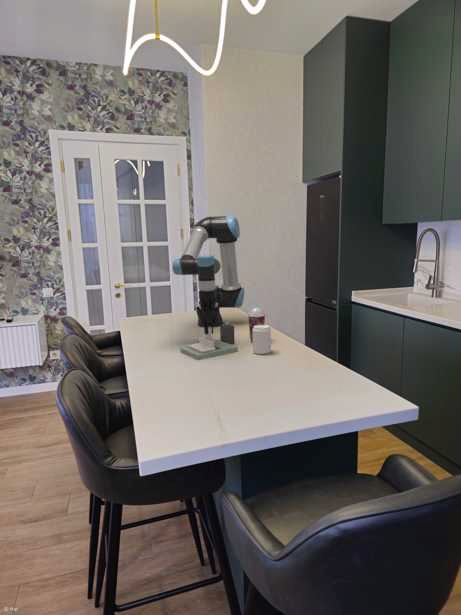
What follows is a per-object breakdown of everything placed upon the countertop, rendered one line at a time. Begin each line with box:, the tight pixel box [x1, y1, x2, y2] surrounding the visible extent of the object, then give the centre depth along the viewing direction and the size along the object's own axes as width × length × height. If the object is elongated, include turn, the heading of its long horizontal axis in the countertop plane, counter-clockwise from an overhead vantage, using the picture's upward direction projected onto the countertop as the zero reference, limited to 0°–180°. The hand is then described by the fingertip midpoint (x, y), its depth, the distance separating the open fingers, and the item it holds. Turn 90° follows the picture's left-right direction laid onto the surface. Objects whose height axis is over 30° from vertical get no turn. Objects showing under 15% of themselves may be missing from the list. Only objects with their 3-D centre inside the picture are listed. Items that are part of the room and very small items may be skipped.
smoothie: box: [247, 301, 266, 344], centre depth 197 cm, size 8×8×20 cm
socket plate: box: [180, 340, 239, 361], centre depth 184 cm, size 21×16×2 cm
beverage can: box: [252, 324, 272, 355], centre depth 180 cm, size 8×8×12 cm
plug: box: [219, 320, 236, 345], centre depth 197 cm, size 5×5×11 cm
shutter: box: [187, 336, 216, 353], centre depth 182 cm, size 7×13×4 cm, turn 35°
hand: (209, 340), depth 184 cm, fingers closed
